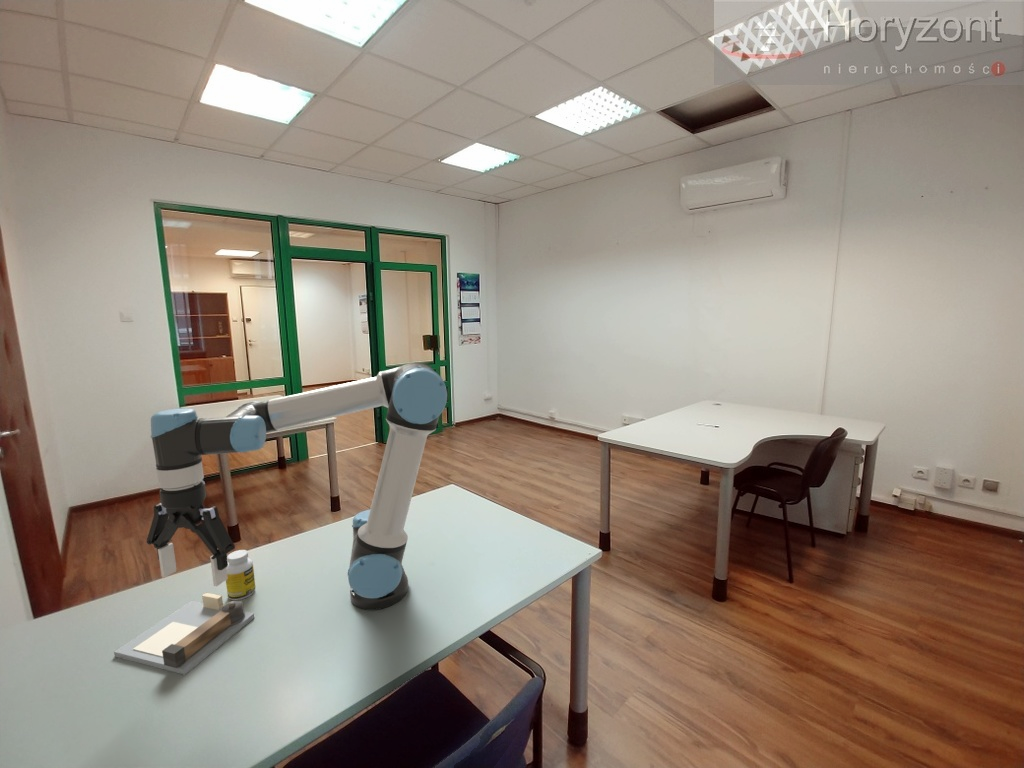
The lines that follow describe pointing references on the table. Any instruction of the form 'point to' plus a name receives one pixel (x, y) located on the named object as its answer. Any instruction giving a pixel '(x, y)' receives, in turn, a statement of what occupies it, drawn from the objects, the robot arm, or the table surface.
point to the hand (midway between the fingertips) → (194, 578)
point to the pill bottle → (240, 575)
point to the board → (180, 635)
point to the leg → (202, 634)
